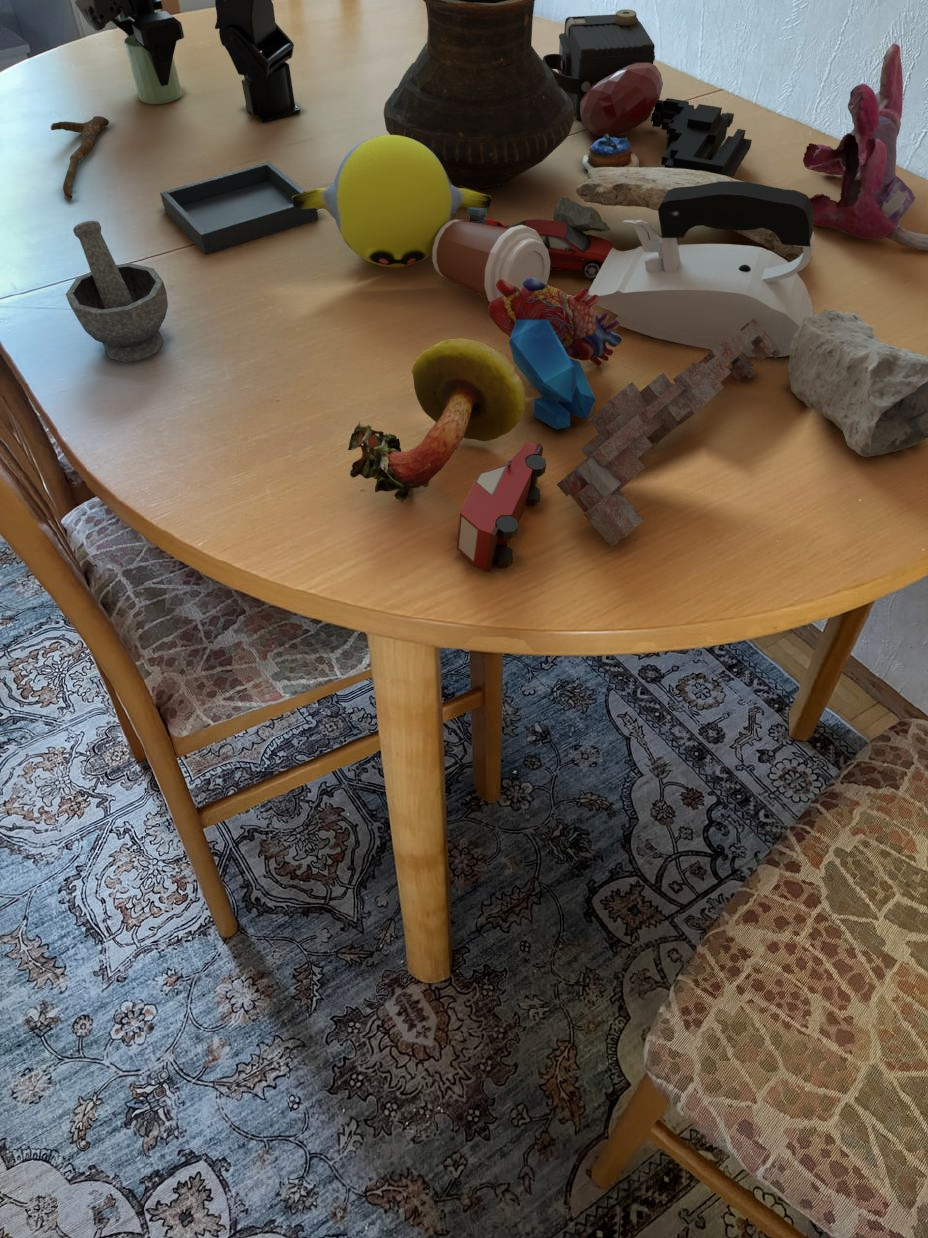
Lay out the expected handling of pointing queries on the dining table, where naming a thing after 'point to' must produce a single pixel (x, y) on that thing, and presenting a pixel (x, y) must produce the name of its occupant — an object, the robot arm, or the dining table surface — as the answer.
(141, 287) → the mortar and pestle
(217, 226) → the tray
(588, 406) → the crystal
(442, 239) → the coffee cup
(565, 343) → the anatomical model
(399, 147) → the toy
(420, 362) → the mushroom
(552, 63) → the camera
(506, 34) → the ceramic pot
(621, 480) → the sculpture
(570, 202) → the stone
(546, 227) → the toy car
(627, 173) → the stone fragment
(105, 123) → the branch
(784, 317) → the iron
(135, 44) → the cup
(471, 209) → the button
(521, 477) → the toy truck
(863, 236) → the toy
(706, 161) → the tool
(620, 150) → the dessert
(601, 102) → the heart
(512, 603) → the dining table surface
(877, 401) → the decorative stone
